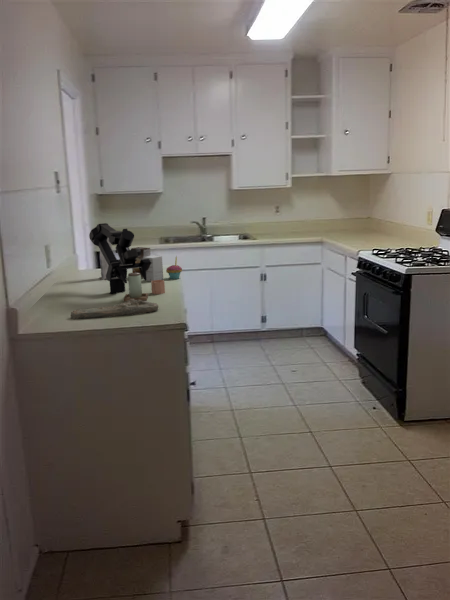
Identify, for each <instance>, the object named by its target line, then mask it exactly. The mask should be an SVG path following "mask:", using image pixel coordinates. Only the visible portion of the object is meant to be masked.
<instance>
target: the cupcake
mask: <svg viewBox="0 0 450 600" xmlns="http://www.w3.org/2000/svg"><path fill="white" fill-rule="evenodd" d="M177 258H178V257H177V255H176V256H175V262H174V263H175V264H172V265H170V266H168V267H166V273H167V274H168V276H169V279H171V280H178V279H179V278H180V276H181V273H182V272H183V268H182V267H181V266H180V265H177V263H178V259H177Z"/></svg>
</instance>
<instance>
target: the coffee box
mask: <svg viewBox="0 0 450 600" xmlns="http://www.w3.org/2000/svg"><path fill="white" fill-rule="evenodd" d="M136 248H140V250H141V255H140V256H138V257H137V258H136V259H137V260H136V261H135V263H140V261H141V259H143V257H147V256H151V248H150V247H142V246H137V247H133V248H130V250H135V249H136ZM131 270H132V272H131V273H134V272H139V273H140V271H141V270H140V269H139V268H132V269H131ZM140 275H141V273H140ZM141 279H143V277H142V275H141Z"/></svg>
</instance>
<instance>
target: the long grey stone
mask: <svg viewBox="0 0 450 600" xmlns="http://www.w3.org/2000/svg"><path fill="white" fill-rule="evenodd" d="M158 310H159V304H158V303H157V302H150V301H148V300H147V301H141V300H134V298H133V299H130V300H128V301H126V302H120V303H118V304H114V305H113V306H109V305H108V306H101V307H93V308H81V309H75V310H73V311H71V312H70V318H71V320H80V319H99V318H109V316H112V317H119V316H130V315H131V316H132V314H133V315H138V313H142V314H146V313H151V312H155V311H158Z"/></svg>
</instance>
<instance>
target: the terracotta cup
mask: <svg viewBox="0 0 450 600" xmlns="http://www.w3.org/2000/svg"><path fill="white" fill-rule="evenodd" d="M150 283H151V286H150V287H151V294H153V295H163V294H165V293H166V286H165V285H166V284H165V280H164V279H162V280H154V281H150Z"/></svg>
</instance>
